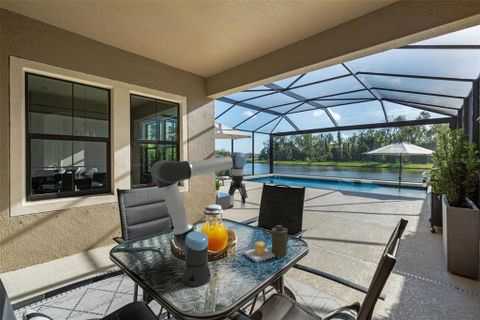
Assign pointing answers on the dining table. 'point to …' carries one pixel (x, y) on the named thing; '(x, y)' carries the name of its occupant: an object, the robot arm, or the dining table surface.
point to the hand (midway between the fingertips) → (237, 206)
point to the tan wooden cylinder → (259, 248)
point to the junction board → (258, 258)
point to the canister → (279, 241)
